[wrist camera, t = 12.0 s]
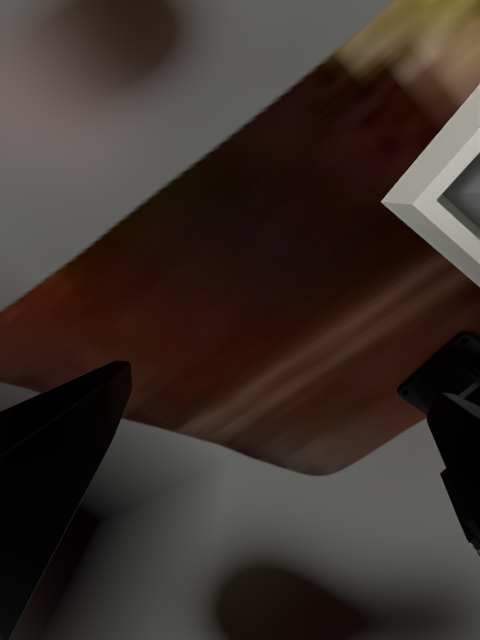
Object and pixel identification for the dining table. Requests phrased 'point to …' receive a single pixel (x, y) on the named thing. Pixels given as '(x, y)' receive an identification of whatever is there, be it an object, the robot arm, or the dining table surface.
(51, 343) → the dining table surface
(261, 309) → the dining table surface
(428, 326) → the dining table surface
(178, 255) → the dining table surface
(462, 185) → the socket box
